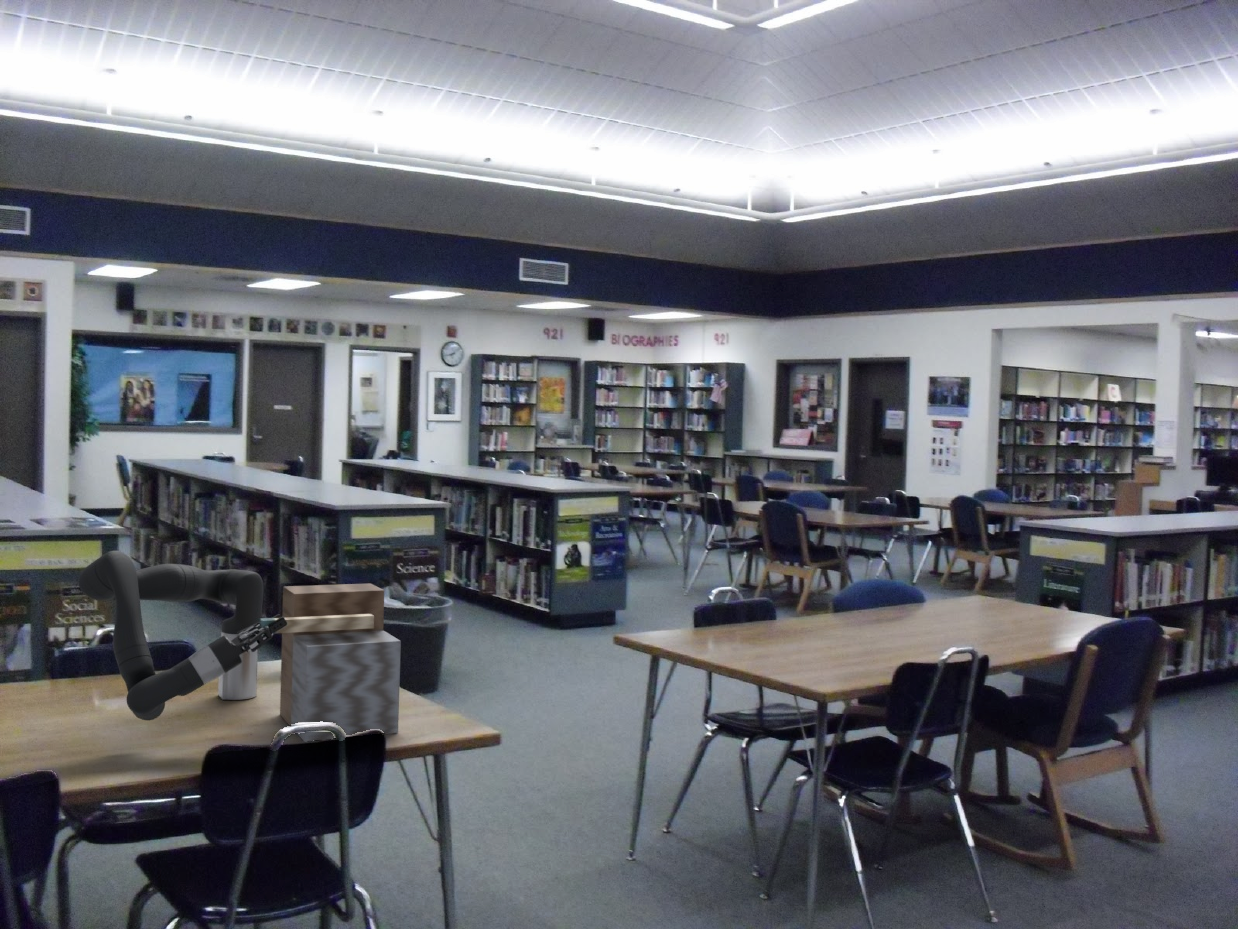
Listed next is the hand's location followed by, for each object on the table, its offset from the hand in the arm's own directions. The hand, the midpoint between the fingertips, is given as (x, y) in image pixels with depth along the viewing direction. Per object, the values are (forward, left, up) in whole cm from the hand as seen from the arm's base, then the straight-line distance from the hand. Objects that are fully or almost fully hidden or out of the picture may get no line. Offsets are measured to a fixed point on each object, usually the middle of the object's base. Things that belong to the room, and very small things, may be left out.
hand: (283, 619), depth 265 cm
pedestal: (+15, +6, -27) cm, 32 cm away
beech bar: (+8, 0, -3) cm, 9 cm away
